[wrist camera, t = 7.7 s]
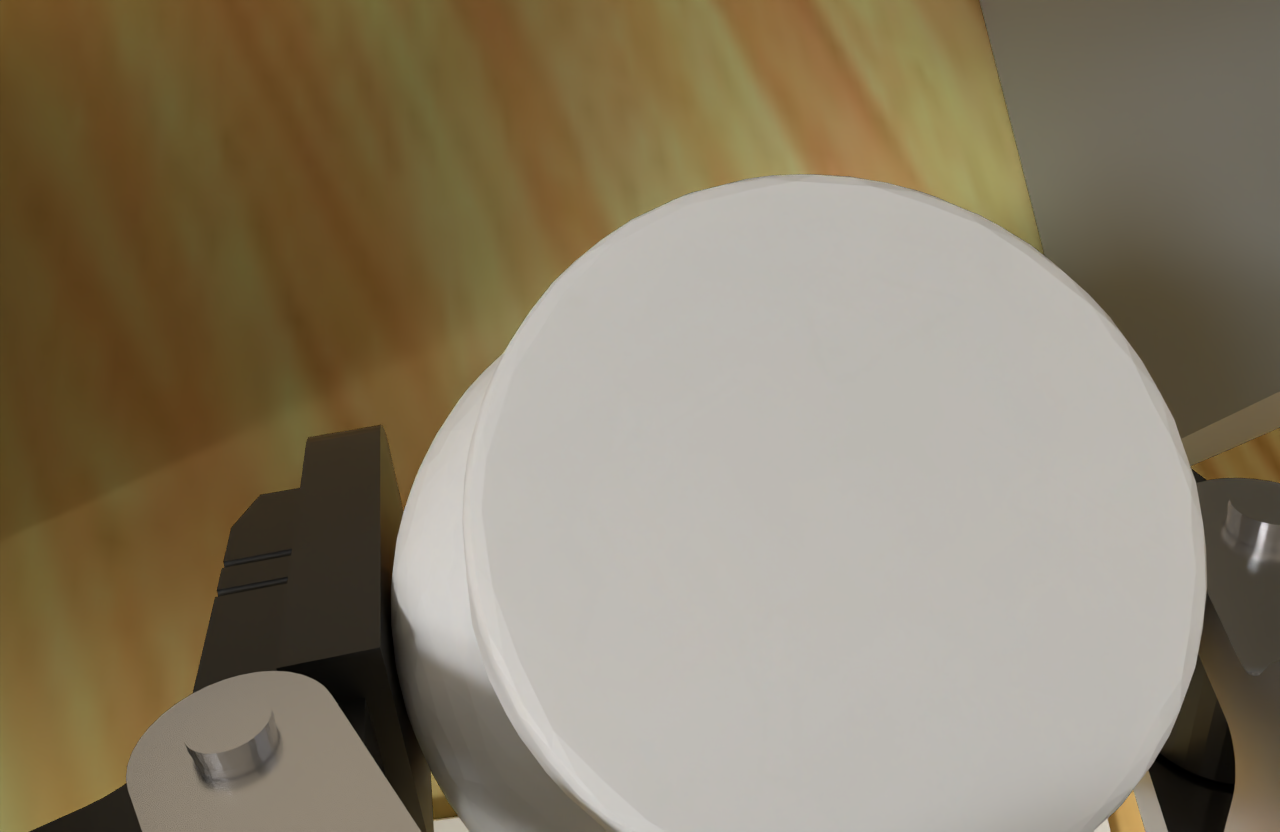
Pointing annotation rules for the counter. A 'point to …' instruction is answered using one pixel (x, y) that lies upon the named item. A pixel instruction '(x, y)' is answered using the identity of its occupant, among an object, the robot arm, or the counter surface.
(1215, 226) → the grey rectangular arch
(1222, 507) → the robot arm
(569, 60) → the counter surface
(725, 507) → the supplement bottle
